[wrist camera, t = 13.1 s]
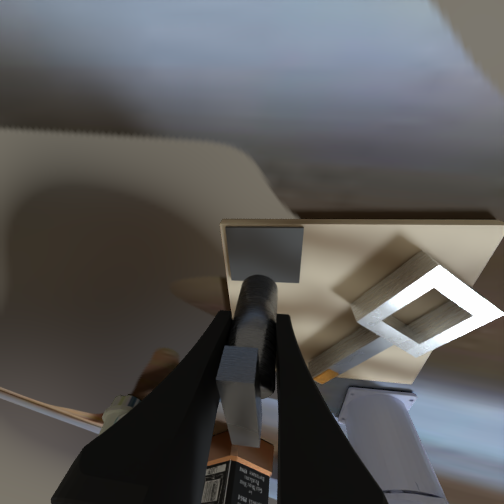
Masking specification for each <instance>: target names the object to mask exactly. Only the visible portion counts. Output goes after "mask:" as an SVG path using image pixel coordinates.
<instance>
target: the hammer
mask: <svg viewBox="0 0 504 504" xmlns="http://www.w3.org/2000/svg"><path fill="white" fill-rule="evenodd" d="M277 300H278V288H277V285H276V283H275V282H274V281H273V280H272V279H271V278H269V277H267V276H264V275H252V276H249V277H247V278H246V279H245V280H244V281H243V283H242V285H241V289H240V293H239V297H238V301H237V305H236V309H235V313H234V317H233V321H232V325H231V328H230V332H229V336H228V340H227V344H226V346H225V347H224V350H223V354H222V358H221V362H220V366H219V370H218V373H217V377H216V383H217V387H218V391H219V395H220V398H221V402H222V406H223V410H224V414H225V418H226V422H227V426H228V430H229V434H230V438H231V442H232V444H234V445H241V446H248V447H256V448H260V438H261V424H262V405H261V399H264V398H267V397H269V396H271V395H272V394H273V393H274V390H275V373H276V314H277Z"/></svg>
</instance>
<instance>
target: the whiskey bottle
mask: <svg viewBox="0 0 504 504" xmlns="http://www.w3.org/2000/svg"><path fill="white" fill-rule="evenodd" d="M273 452H274V446H273V445H271V444H269V443H267V442H265V441H263V440H261V439H260V448H256V447H248V446H241V445H234V444H232V442H231V438H230V434H229V430H228V431H226V432H223V433H220V434H218V435H215V436H212V440H211V446H210V452H209V457H208V463H207V470H206V476H205V482H204V488H203V495H202V501H201V504H268V494H269V478H270V477H271V476H272V468H273Z"/></svg>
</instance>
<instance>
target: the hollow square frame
mask: <svg viewBox="0 0 504 504" xmlns="http://www.w3.org/2000/svg"><path fill="white" fill-rule="evenodd" d="M433 287H434V288H436V289H437V290H438V291H440V292H441V293H443V294H444V295H446V296H447V297H448V298H450V299H451V300H450V301H448V302H446V303H444V304H443V305H441V306H439V307H438V308H436V309H434V310H433V311H431V312H429V313H427V314H426V315H424V316H422V317H421V318H419V319H417V320H415V321H414V322H412V323H410V324H409V325H406V324H405V323H403V322H402V321H400V320H398V319H397V318H395V317H394V316H392V315H391V314H393V313H394V312H396V311H397V310H399V309H400V308H402V307H404V306H405V305H407V304H408V303H410V302H411V301H413V300H415V299H416V298H418V297H419V296H421V295H422V294H424V293H425V292H427V291H429V290H430V289H432V288H433ZM350 306H351V309H352V311H353V314H354V316H355V319H356V322H357V323H359V324H361V325H362V326H363V327H361V328H360V329H358V330H357V331H355V332H354V333H352V334H350V335H349V336H347V337H346V338H344V339H343V340H341V341H340V342H338V343H337V344H335V345H334V346H332V347H331V348H329V349H328V350H326V351H325V352H323V353H322V354H320V355H319V356H317V357H316V358H314V359H313V360H311V361H310V362H308V369H309V371H310V374H311V376H312V378H313V380H314V382H316V383H318V384H320V385H322V384H324V383H326V382H328V381H330V380H331V379H333V378H335V377H337V376H339V375H340V374H342V373H344V372H346V371H348V370H349V369H351V368H353V367H355V366H357V365H358V364H360V363H362V362H364V361H366V360H367V359H369V358H371V357H373V356H375V355H376V354H378V353H380V352H382V351H384V350H385V349H387V348H389V347H391V346H393V345H396V346H397V347H399V348H401V349H402V350H404V351H405V352H407V353H409V354H410V355H412V356H414V357H415V358H417V357H419V356H421V355H423V354H425V353H427V352H429V351H431V350H433V349H435V348H437V347H439V346H441V345H443V344H445V343H447V342H449V341H451V340H454V339H456V338H458V337H460V336H462V335H464V334H466V333H468V332H470V331H472V330H474V329H476V328H478V327H480V326H482V325H484V324H486V323H488V322H490V321H492V320H494V319H496V318H498V317H500V316H502V315H504V313H503V312H502V311H501V310H499V309H498V308H497V307H496V306H495V305H493V304H492V303H491V302H490V301H489V300H488V299H486V298H485V297H484V296H483V295H482V294H480V293H479V292H477V291H476V290H475V289H473V288H472V287H471V286H469V285H468V284H467V283H465V282H464V281H463V280H461V279H460V278H459V277H457V276H456V275H455V274H453V273H452V272H451V271H449V270H448V269H447V268H445V267H444V266H443V265H441V264H440V263H439V262H437V261H436V260H434V259H433V258H432V257H430V256H429V255H428V254H426V253H425V252H424V251H420V252H419V253H418V254H416V255H415V256H414V257H412V258H411V259H410V260H408V261H407V262H406V263H404V264H403V265H402V266H400V267H399V268H398V269H396V270H395V271H394V272H392V273H391V274H390V275H388V276H387V277H386V278H384V279H383V280H382V281H380V282H379V283H378V284H376V285H375V286H374V287H372V288H371V289H370V290H368V291H367V292H366V293H364V294H363V295H362V296H361V297H359V298H358V299H357V300H355V301H354V302H353V303H351V304H350Z"/></svg>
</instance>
